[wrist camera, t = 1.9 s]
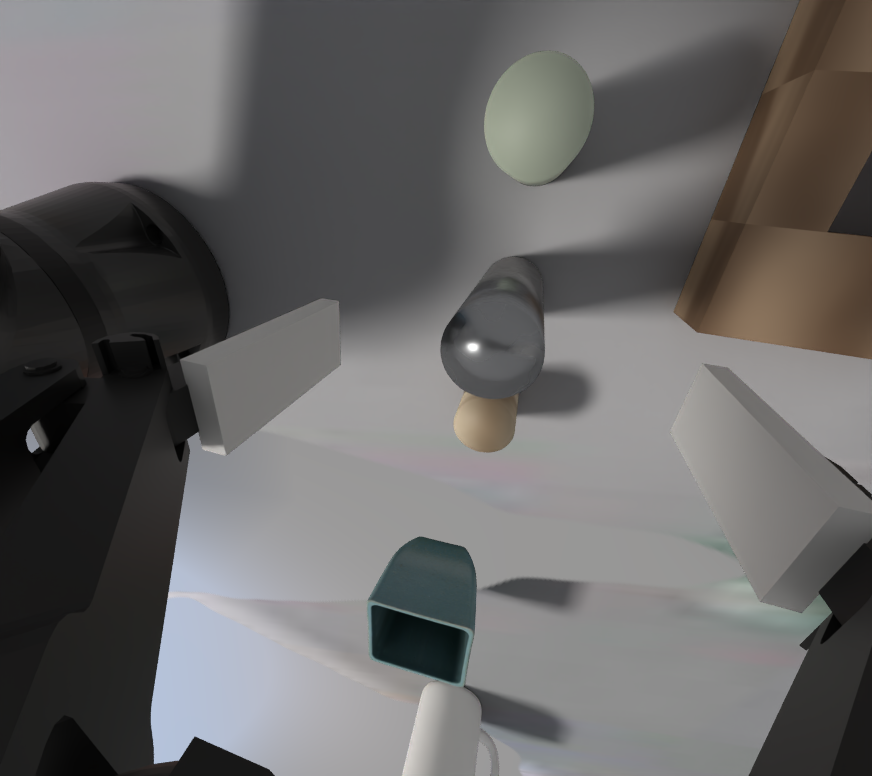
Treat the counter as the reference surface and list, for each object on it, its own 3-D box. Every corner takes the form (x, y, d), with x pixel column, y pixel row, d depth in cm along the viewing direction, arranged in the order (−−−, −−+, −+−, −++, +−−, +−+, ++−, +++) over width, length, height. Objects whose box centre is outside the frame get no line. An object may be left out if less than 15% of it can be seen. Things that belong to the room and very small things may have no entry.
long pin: (477, 312, 26) (436, 388, 16) (486, 252, 24) (445, 294, 14) (535, 321, 25) (532, 408, 15) (549, 261, 23) (556, 311, 13)
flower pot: (489, 537, 35) (475, 632, 28) (478, 594, 40) (463, 690, 32) (402, 516, 37) (365, 600, 29) (400, 573, 41) (368, 659, 34)
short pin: (463, 409, 30) (450, 444, 26) (470, 364, 28) (457, 394, 24) (513, 419, 29) (508, 458, 25) (523, 374, 27) (520, 407, 23)
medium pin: (496, 182, 22) (477, 175, 15) (509, 99, 20) (493, 48, 13) (565, 189, 22) (577, 185, 15) (585, 103, 20) (609, 53, 13)
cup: (439, 671, 48) (417, 776, 40) (518, 716, 49) (513, 830, 40) (413, 692, 53) (388, 791, 44) (486, 733, 53) (475, 840, 44)
